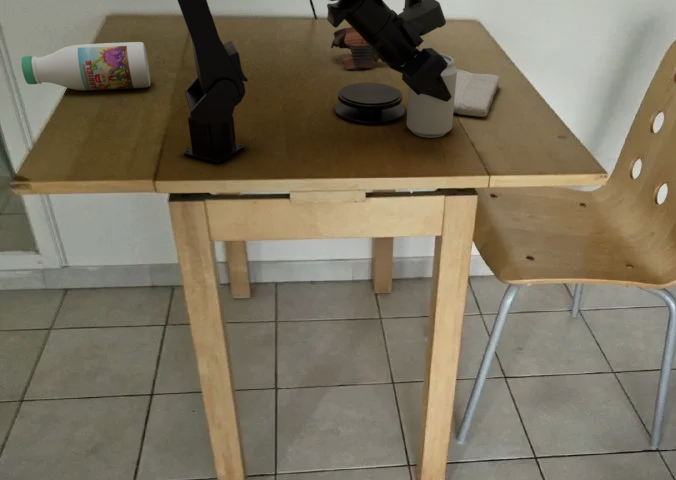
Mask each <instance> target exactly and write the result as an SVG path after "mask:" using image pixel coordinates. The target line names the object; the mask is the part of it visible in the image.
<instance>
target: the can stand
mask: <svg viewBox="0 0 676 480" xmlns="http://www.w3.org/2000/svg"><path fill="white" fill-rule="evenodd" d="M403 96H404V95H403V92H402V91H401V90H400V89H398V88H396V87H394V86H391V85H389V84H385V83H381V82H357V83H352V84H348V85H345V86H343V87H341V88H340V89H339V90H338V92H337V100H338V102H336V104H335V106H334V113H335V115H336V116H337V117H338V118H339V119H341V120H343V121H345V122H347V123H351V124H356V125H360V126H384V125H388V124H393V123H397V122H398V121H400V120H401V119H403V118H404V117H405V114H406V113H405V111H406V109H405V107H404V106H403V104H402V102H403V98H404V97H403Z"/></svg>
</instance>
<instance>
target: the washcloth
mask: <svg viewBox="0 0 676 480" xmlns="http://www.w3.org/2000/svg"><path fill="white" fill-rule="evenodd" d="M500 80H501V76H499V75H498V74H492V73H474V72H470V71H466V70H462V69H457V78H456V89H455V99H454V110H453V114H458V115H463V116H470V117H478V118H479V117H481V118H485V117H487V116H488V113H489V111H490V107H491V105H492V102H493V100H494V97H495V94H496V93H497V90H498V89H499V87H500V86H499V83H500Z"/></svg>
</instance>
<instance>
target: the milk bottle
mask: <svg viewBox="0 0 676 480" xmlns="http://www.w3.org/2000/svg"><path fill="white" fill-rule="evenodd" d="M21 70H22V75H23V79H24V80H25V83H26V84H28V85H38V84H40V85H41V84H42V83H49V84H54V85H58V86H61V87H64V88H67V89H70V90H75V91H107V90H108V91H109V90H124V89H128V90H129V89H142V88H143V89H145V88H149V87H151V75H150V66H149V60H148V53H147V49H146V45H145V43H144V42H141V41H128V42H126V41H125V42H124V41H123V42H105V43H104V42H103V43H101V42H100V43H84V44H73V45H68V46H65V47H62V48H60V49H58V50H56V51H54V52H52V53H50V54H47V55H43V56H37V55H34V56H33V55H26V56H25V55H24V56H22V57H21Z"/></svg>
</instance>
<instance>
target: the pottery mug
mask: <svg viewBox="0 0 676 480" xmlns="http://www.w3.org/2000/svg"><path fill="white" fill-rule="evenodd" d="M333 37H334V38H333V40H332V42H331V45H330V48H331V49H334V48H339V49H347V50H350V53H351V55H350V56H347V57H344V58H343V59H342V62H343V65H344V69H345V70H346V71H349V70H353V69H373V64H374V63H378V62H379V59H380V58H379V57H378V56H377V55H376V54H375V53H374V52H373V51H372V47H371V46H370V45H369V44H368V43H367V42H366V41H365V40H364V39H363V38H362V37H361V36H360V35H359V34H358V33H357V32H356V30H355V29H354V28H353V27H352V26H350V27H344V28H343V27H342V28H341V29H338V30H336V31H334V32H333Z"/></svg>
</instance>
